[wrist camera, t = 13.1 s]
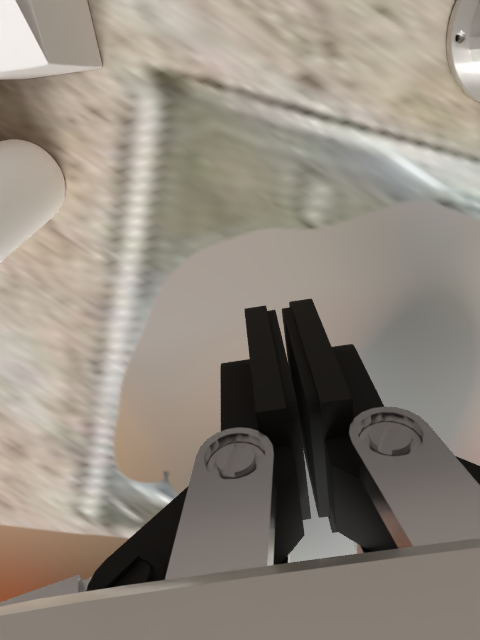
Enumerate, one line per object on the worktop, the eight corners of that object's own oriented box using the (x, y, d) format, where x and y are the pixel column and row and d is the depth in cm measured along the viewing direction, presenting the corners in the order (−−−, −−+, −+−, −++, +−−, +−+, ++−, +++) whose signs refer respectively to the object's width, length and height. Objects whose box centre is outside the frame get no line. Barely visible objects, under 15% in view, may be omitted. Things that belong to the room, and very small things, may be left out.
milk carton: (-5, -19, 37) (-186, -93, 21) (80, -31, 37) (-32, -117, 21) (25, 79, 41) (-109, 83, 24) (103, 68, 41) (24, 64, 24)
